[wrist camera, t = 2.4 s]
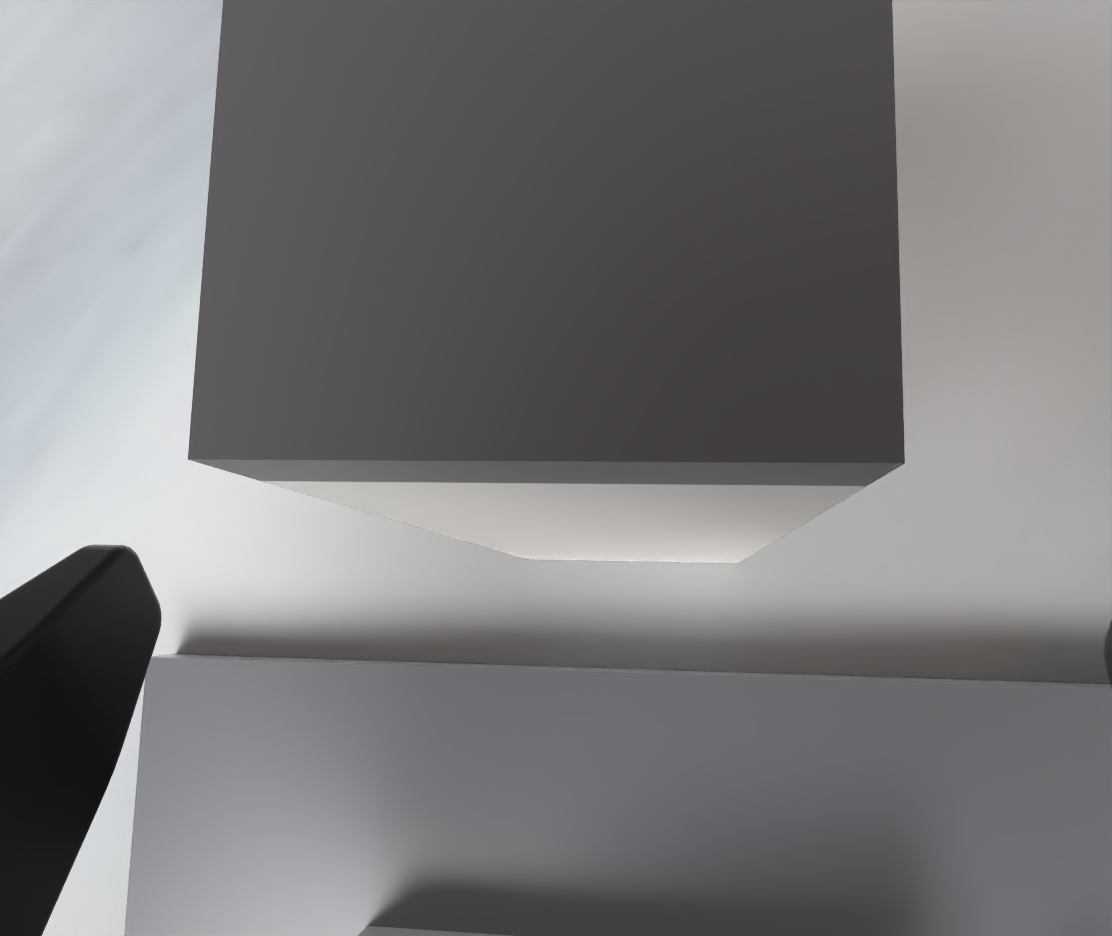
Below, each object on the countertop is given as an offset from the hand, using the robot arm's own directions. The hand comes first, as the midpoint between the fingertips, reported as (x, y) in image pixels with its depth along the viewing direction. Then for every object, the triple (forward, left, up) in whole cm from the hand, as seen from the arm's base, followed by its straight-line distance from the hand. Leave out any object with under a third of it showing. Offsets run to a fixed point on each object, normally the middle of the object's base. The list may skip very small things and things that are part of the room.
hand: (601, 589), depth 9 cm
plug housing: (0, +3, -9) cm, 10 cm away
